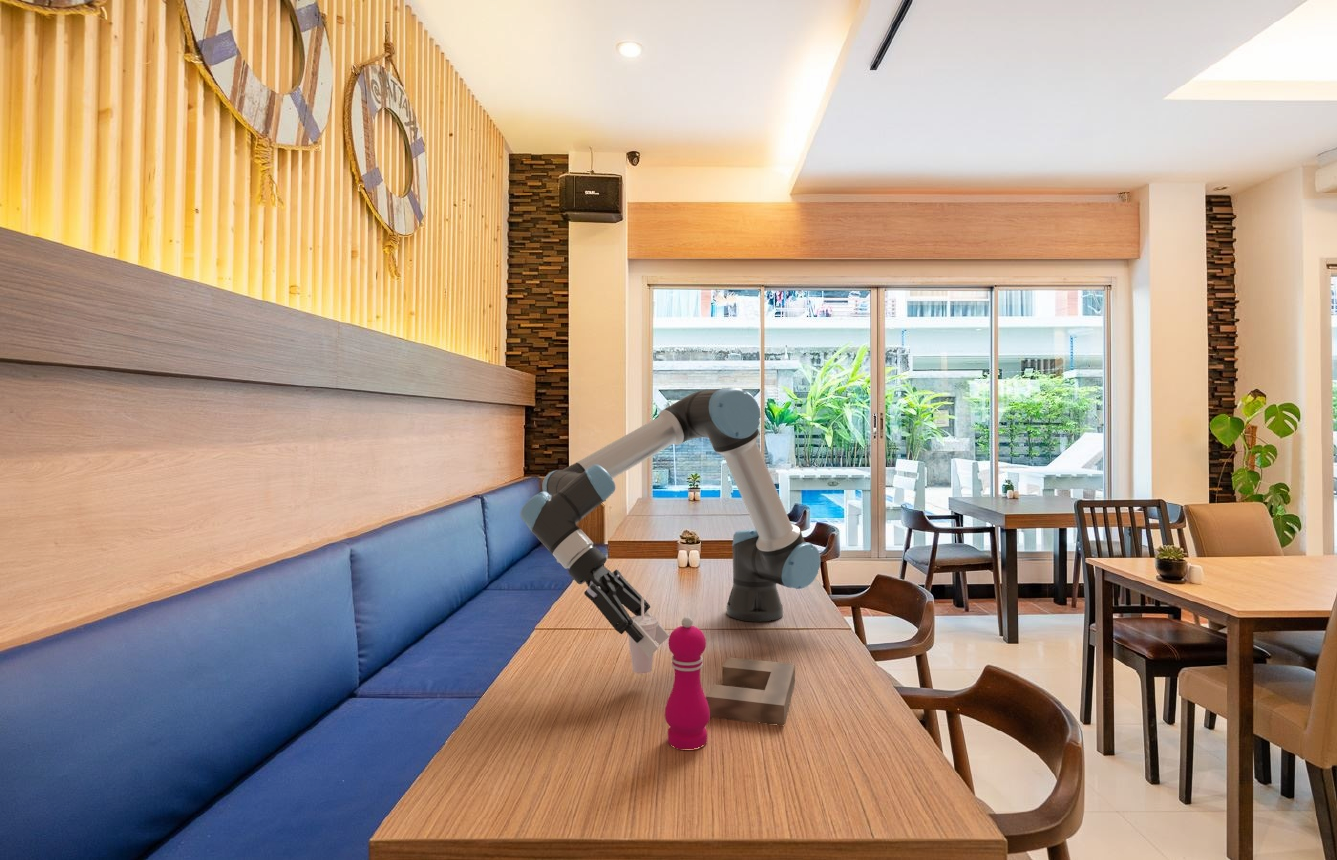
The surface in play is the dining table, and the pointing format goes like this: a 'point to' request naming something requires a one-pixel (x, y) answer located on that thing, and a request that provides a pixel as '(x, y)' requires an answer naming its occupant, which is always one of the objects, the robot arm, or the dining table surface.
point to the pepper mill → (687, 689)
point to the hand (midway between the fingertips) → (659, 646)
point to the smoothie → (638, 657)
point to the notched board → (753, 691)
